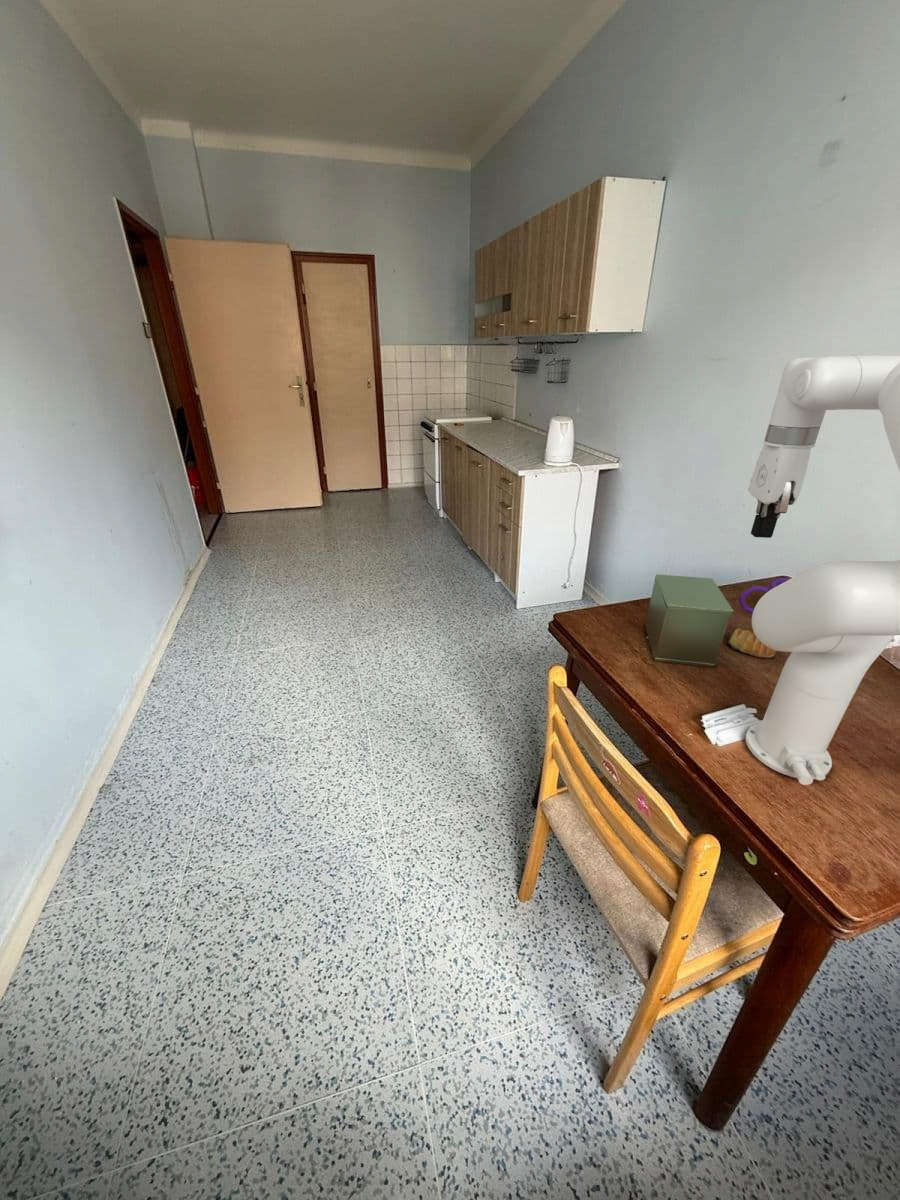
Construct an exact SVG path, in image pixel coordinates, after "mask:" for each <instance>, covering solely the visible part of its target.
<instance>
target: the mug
mask: <svg viewBox="0 0 900 1200" xmlns="http://www.w3.org/2000/svg"><path fill="white" fill-rule="evenodd" d="M789 579H791V578H788V577H781V578H775V579H774V580H772V581H771V582H770V584H769V586H768V587H766V586H764V585H763V586H762V585H754V586H751V587H749V588H747V589H746V590H744V591H743V592H742V593H741V594H740V595H739V600H738V601H739V605H740V608H741V609H742V610H743V611H745V612H746V613H750V614H753V611H754V608H755V607H750V606H748V604H747V601H746V598H747V597H749V596H750V595H752V594H753V593H755V592H761V593H764V594H766V593H767V592H768V591H770V590H771V589H773V588H775V587H777V586H778V585H780V584H782V583H784V582H786V581H788V580H789Z"/></svg>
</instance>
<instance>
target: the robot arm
mask: <svg viewBox="0 0 900 1200" xmlns="http://www.w3.org/2000/svg"><path fill="white" fill-rule="evenodd" d="M837 410H838V411H842V410H843V411H844V410H848V411H850V410H854V411H855V410H865V411H866V410H868V411H869V410H871V411H873V410H874V411H875V410H876V411H879V412H880V414H881V415H882V422H883V427H884V430H885V431H884V432H885V433H886V437H887V440H888V444H889V446H890V449H891V452H892V455H893V458H894V460H895V463H896V465H897V468H898V471H899V472H900V354H860V355H859V354H856V355H855V354H854V355H853V354H852V355H851V354H850V355H828V356H816V357H815V356H814V357H813V356H812V357H796V358H793V359H791V360H789V361H788V362H787V363H786V365H785V366H784V369H783V372H782V376H781V378H780V382H779V386H778V390H777V393H776V397H775V400H774V405H773V408H772V411H771V415H770V418H769V422H768V426H767V429H766V433H765V436H764V440H763V446H762V448H761V451H760V453H759V455H758V458H757V461H756V464H755V466H754V469H753V472H752V475H751V479H750V482H749V485H748V489H747V490H748V493H749V494H750V495H751V496H752V497H754V498H755V499H756V500H757V504H756V510H755V517H754V520H753V524H752V527H751V530H750V535H752V536H753V538H763V539H764V538H765V539H766V538H767V539H771V538H772V537H773V535H774V533H775V528H776V526H777V522H778V519H779V518H780V516H781V514H787V513H788V508H789V506H792V505H794V504H796V503H797V500H798V498H799V496H800V494H801V491H802V488H803V484H804V480H805V477H806V473H807V470H808V465H809V460H810V457H811V456H810V455H811V449H813V448H814V447H815V446H816V442H817V440H818V435H819V434H820V430H821V427H822V424H823V420H824V417H825V414H826V413H827V411H837ZM753 608H754V611H753V613H751V628H752V631H753V633H754V634H755V635H756V637H757V638H758V640H759V641H760V642H761V643H762V644H764V645H765V646H767V647H768V648H771V649H773V650H777V651H776V652H785V653H790V655H789V656H788V657H787V659H786V661H785V663H784V666H783V668H782V669H781V672H780V674H779V675H780V676H779V677H778V680H777V682H776V685H775V688H774V690H773V693H772V696H771V698H770V701H769V703H768V705H767V708H766V710H765V714H764V716H763V718H762V721H761V722H757V723H755V724H752V725H751V726H749V728H748V729H747V730H746V734H745V743H746V746H747V748H748V749H749V751H750V752H751V754H752V755H753V756H754V757H755V758H756V759H757V760H759V761H760V762H761V763H762V764H763V765H765V766H766V767H768V768H770V769H772V770H773V771H775V772H778V773H780V774H782V775H785V776H787V777H790V778H795V779H797V781H798V783H799V784H800V785H803V786H809V785H812V783H813V782H814V780H816V781H824V780H825V779H826V776H827V775H828V774H829V773H830V771H831V769H832V766H833V759H832V756H831V755H830V752H829V751H828V750H827V749H828V748H829V746H830V744H831V742H832V739H833V737H834V736H835V733H836V731H837V729H838V727H839V725H840V723H841V721H842V719H843V717H844V715H845V713H846V711H847V709H848V707H849V705H850V703H851V701H852V699H853V697H854V695H855V694H856V692H857V690H858V688H859V686H860V684H861V682H862V680H863V679H864V676H865V675H866V673H867V672H868V671H869V669H870V668H871V666H872V664H873V663H874V662H875V661H876V660H877V659H878V658H879V657H880V655H881V654H882V653H883V651H885V649H886V648H887V647H888V646H889V644H890V643H891V642H892V640H893V638H894V637H895V636H900V560H842V561H832V562H826V563H822V564H818V565H815V566H811V567H810V568H808V569H806V570H804V571H802V572H800V573H799V574H797V575H795V576H793V577H792V578H790V579H789V580H788V581H786V582H784V583H782V584H780V585H778V586H777V587H775V588H773V589H771V590H770V591H768V592H767V593H764V595H762V596H761V597H760V598H759V599H758V601H757V603H755V606H754V607H753Z"/></svg>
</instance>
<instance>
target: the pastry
mask: <svg viewBox="0 0 900 1200" xmlns="http://www.w3.org/2000/svg"><path fill="white" fill-rule="evenodd" d="M727 643H728V645H729V646H730V647H731V648H732V649H734V650H737V651H738V650H739V651H740V653H744V654H749V655H751V656H754V657H758V658H768V659H769V658H773V657H774V656H775V655H776V653H777V652H778V651H777V650H773V649H771V648H768V647H767V646H765V645H764V644H762V643H761V642H760V641H759V640H758V638H757V637H756V635H755V634H754V632H751V631H750V630H748V629H745V630H743V629H742V628H740V627H737V628H736V629H735V630H734V631H733V633H732V634H731V636H730V638H729V639H728V640H727Z"/></svg>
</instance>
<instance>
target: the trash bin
mask: <svg viewBox="0 0 900 1200" xmlns="http://www.w3.org/2000/svg"><path fill="white" fill-rule="evenodd" d="M730 618H731V614H728V613H717V612H705V611H694V610H682V609H670V608H667V605H666V603H665V600H664V598H663V595H662V593H661V590H660V587H659V585H658V582H657V580H656V577H655V578H654V582H653V587H652V591H651V596H650V601H649V605H648V610H647V615H646V618H645V619H646V620H645V625H644V627H645V630H646V634H647V638H648V642H649V645H650V650H651V653H652V656H653V660H654V661H655V662H663V663H671V664H672V663H673V664H681V665H689V666H690V665H692V666H701V667H709V668H715V666H716V663H717V659H718V657H719V653H720V650H721V648H722V647H721V646H722V643H723V640H724V637H725V634H726V631H727V630H726V629H727V627H728V624H729V620H730Z"/></svg>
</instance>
